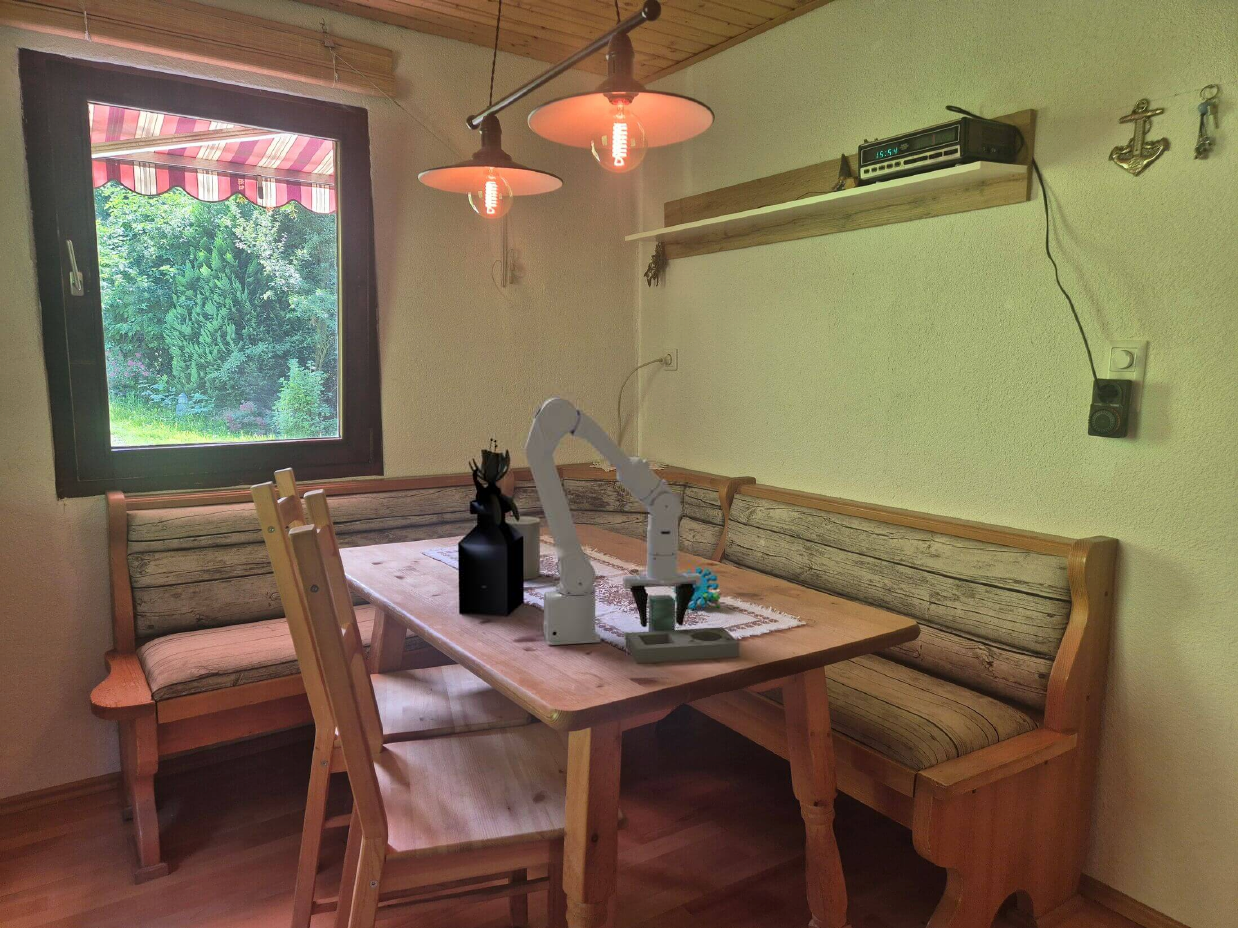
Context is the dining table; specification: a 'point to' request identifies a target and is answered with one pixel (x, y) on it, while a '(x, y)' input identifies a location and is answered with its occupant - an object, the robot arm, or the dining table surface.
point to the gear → (704, 590)
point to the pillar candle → (529, 543)
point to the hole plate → (681, 645)
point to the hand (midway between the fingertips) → (661, 624)
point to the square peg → (661, 613)
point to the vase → (491, 546)
